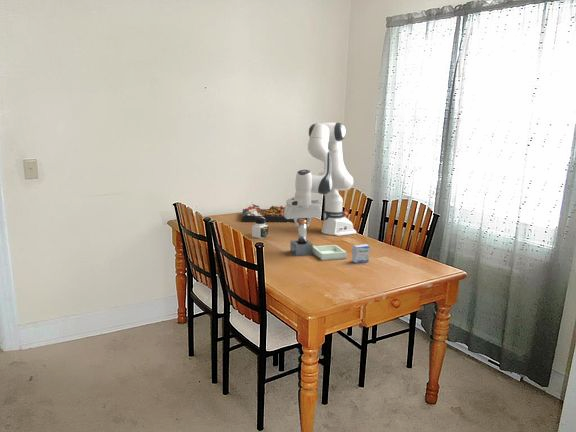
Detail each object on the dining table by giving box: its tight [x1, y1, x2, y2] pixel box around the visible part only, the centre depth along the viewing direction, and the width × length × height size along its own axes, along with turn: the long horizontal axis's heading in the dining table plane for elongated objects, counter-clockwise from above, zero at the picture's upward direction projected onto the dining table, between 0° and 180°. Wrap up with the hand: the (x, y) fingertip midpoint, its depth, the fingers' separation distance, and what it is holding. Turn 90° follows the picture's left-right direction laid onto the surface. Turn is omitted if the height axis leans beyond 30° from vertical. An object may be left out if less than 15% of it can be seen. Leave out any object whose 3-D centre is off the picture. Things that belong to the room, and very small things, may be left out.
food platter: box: [241, 203, 308, 224], centre depth 337 cm, size 45×25×10 cm, turn 94°
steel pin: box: [297, 219, 308, 243], centre depth 257 cm, size 4×4×12 cm
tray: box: [312, 244, 348, 261], centre depth 256 cm, size 14×14×4 cm
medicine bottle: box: [251, 217, 269, 240], centre depth 288 cm, size 7×7×12 cm
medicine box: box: [351, 243, 370, 264], centre depth 247 cm, size 8×4×9 cm, turn 117°
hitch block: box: [289, 239, 314, 257], centre depth 259 cm, size 9×9×6 cm
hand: (302, 226), depth 256 cm, fingers closed on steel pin, 4 cm apart
